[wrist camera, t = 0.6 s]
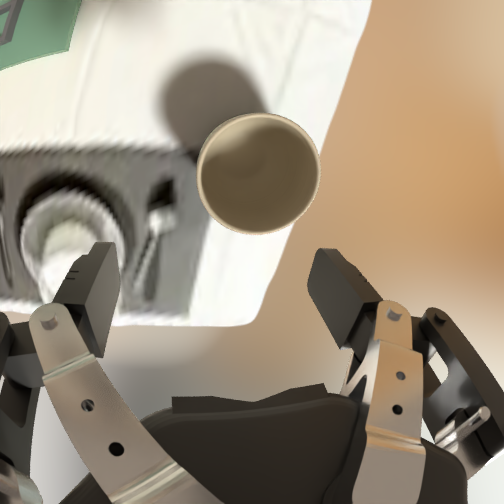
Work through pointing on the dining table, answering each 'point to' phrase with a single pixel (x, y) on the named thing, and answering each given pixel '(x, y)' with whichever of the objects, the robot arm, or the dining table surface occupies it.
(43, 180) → the dining table surface
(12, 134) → the dining table surface
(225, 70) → the dining table surface
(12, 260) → the dining table surface
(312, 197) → the planter
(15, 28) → the board
